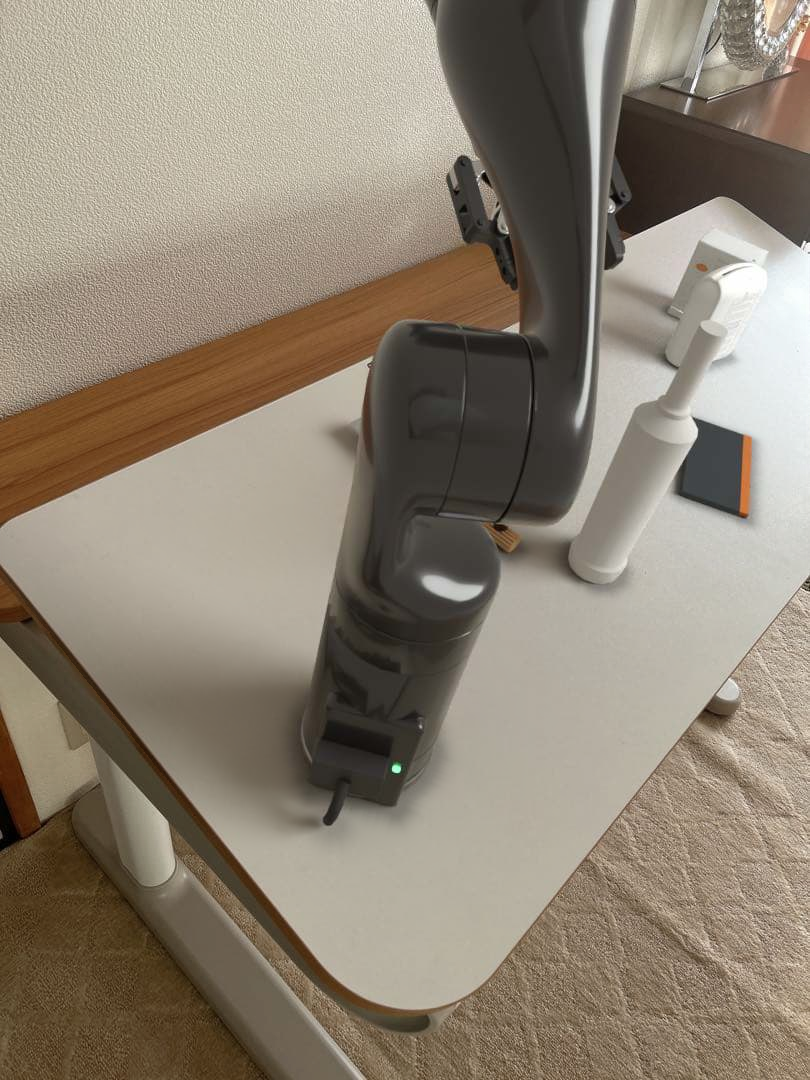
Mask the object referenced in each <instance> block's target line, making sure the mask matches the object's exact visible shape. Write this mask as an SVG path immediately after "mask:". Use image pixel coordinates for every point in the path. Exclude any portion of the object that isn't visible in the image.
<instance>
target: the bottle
mask: <svg viewBox="0 0 810 1080" xmlns="http://www.w3.org/2000/svg"><path fill="white" fill-rule="evenodd" d="M727 335H728V331H727V329H726V328H725V327H724V326H723V325H721V324H719V323H717V322H714V321H710V320H704V321H702V322H701V323H700V325H699V327H698V329H697V331H696V333H695V335H694V337H693V339H692V341H691V343H690V345H689V349H688V351H687V353H686V355H685V357H684V359H683V361H682V363H681V365H680V367H678V368H677V370H676V372H675V375H674V377H673V379H672V381H671V382H670V385H669V386H668V389H667V391H666V393H665V394H662V395H660V396H659V397H658V398H657V400H656V399H655V400H652V401H651V400H650V401H645V402H641V403H639V405H636V407H635V408H634V410H633V412H632V414H631V417H630V419H629V421H628V423H627V425H626V428H625V430H624V432H623V435H622V437H621V439H620V441H619V444H618V446H617V448H616V450H615V453H614V454H613V457H612V459H611V462H610V464H609V466H608V468H607V471H606V473H605V475H604V477H603V479H602V482H601V484H600V487H599V489H598V491H597V492H596V496H595V497H594V499H593V502H592V505H591V506H590V509H589V511H588V513H587V515H586V518H585V520H584V522H583V524H582V527H581V529H580V531H579V533H577V534H576V535H575V536H574V537H573V538H572V541H571V544H570V546H569V547H570V548H569V551H568V555H567V559H568V564H569V567H570V568H571V569H572V570H571V571H573V572H574V573H575V575H577V576H578V577H580V578H581V579H582V580H583V581H586V582H589V583H591V584H595V585H606V584H610V583H612V582H614V581H615V580H616V579H617V578H619V576H620V575H621V574H622V573H623V572H624V570H625V568H626V567H627V565H628V560H629V559H628V558H629V556H630V553H631V552H632V550H633V548H634V546H635V544H636V543H637V541H638V539H639V537H640V536H641V534H642V533H643V531H644V530H645V527H646V526H647V524H648V522H649V520H650V519H651V517H652V516H653V514H654V512H655V510H656V509H657V507H658V506H659V503H660V502H661V500H662V498H663V497H664V495H665V494H666V491H667V489H668V488H669V487H670V484H671V483H672V481H673V479H674V478H675V476H676V475H677V473H678V471H679V469H680V467H681V466H682V464H683V463H684V459H685V457H686V455H687V454H688V452H689V450H690V448H691V447H692V445H693V443H694V442H695V440H696V438H697V435H698V428H697V426H696V424H695V422H694V421H693V419H692V417H693V416H691V414H692V407H691V404H692V402H693V400H694V398H695V396H696V394H697V393H698V391H699V388H700V386H701V385H702V382H703V381H704V379H705V377H706V375H707V373H708V371H709V369H710V367H711V366H712V363H713V362H714V361H713V360H714V358H715V357H716V356H717V354H718V352H719V350H720V348H721V346H722V344H723V342H724V340H725V338H726V337H727ZM712 361H713V362H712Z"/></svg>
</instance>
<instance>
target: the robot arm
mask: <svg viewBox="0 0 810 1080" xmlns="http://www.w3.org/2000/svg"><path fill="white" fill-rule="evenodd" d="M423 1H424V3H425V5H426V7H427V10H428V12H429V15H430V19H431V20H432V23H433V26H434V29H435V40H436V48H437V54H438V58H439V64H440V67H441V70H442V74H443V77H444V80H445V83H446V86H447V89H448V92H449V94H450V97H451V99H452V102H453V104H454V107H455V109H456V112H457V114H458V116H459V118H460V121H461V123H462V125H463V127H464V130H465V132H466V134H467V136H468V138H469V140H470V144H471V146H472V149H473V152H474V154H475V156H476V157H477V158H478V160H472V159H471V158H470V157H469V156H468V155H465V154H461V155H459V156H458V157H457V158H456V160H455V161H454V163H453V165H452V166H451V168H450V169H449V171H448V173H447V174H446V176H445V181H446V184H447V188H448V191H449V195H450V199H451V202H452V206H453V209H454V212H455V213H454V214H455V217H456V219H457V222H458V227H459V231H460V233H461V237H462V240H463V241H464V243H465V244H467V245H472V246H473V245H474V244H476V243H479V244H484V245H486V246H487V247H489V248H490V249H491V251H492V255H493V257H494V260H495V263H496V265H497V269H498V271H499V274H500V276H501V280H502V281H503V282H504V284H505V285H506V286H508V285H509V287H510V289H511V290H512V291H513V292H516V291H517V293H518V310H519V313H518V314H519V316H518V317H519V319H518V320H519V322H518V323H519V325H518V327H519V328H518V332H511V331H503V330H497V329H491V328H484V327H476V326H470V325H464V324H456V323H450V322H442V321H436V320H435V321H434V320H427V319H417V318H405V319H404V318H403V319H401V320H398V321H396V322H394V323H393V324H392V325H391V326H390V327H389V328H387V330H386V331H385V332H384V334H383V335H382V337H381V338H380V340H379V342H378V344H377V346H376V349H375V351H374V353H373V355H372V359H371V363H370V366H369V369H368V373H367V377H366V382H365V388H364V394H363V400H362V407H361V412H360V413H361V414H360V418H361V421H360V429H359V435H358V439H357V447H356V453H355V454H356V455H355V462H354V469H353V475H352V482H351V486H350V487H351V488H350V492H349V493H350V494H349V497H348V503H347V507H346V508H347V509H346V513H345V518H344V525H343V529H342V533H341V538H340V544H339V548H338V552H337V557H336V560H335V568H334V573H333V577H332V582H331V587H330V591H329V595H328V599H327V605H326V611H325V614H324V619H323V623H322V629H321V633H320V638H319V643H318V647H317V652H316V658H315V661H314V666H313V672H312V676H311V682H310V686H309V691H308V696H307V701H306V708H305V709H304V711H303V714H302V719H301V724H300V729H299V741H300V748H301V751H302V754H303V756H304V759H305V761H306V764H307V765H308V766H309V769H310V770H309V775H308V778H307V782H308V783H309V784H310V785H312V786H316V787H320V788H324V789H327V790H330V791H334V793H333V796H332V798H331V801H330V804H329V806H328V809H327V810H326V813H325V814H324V815H323V817H322V823H323V824H324V825H325V826H327V827H330V826H333V824H334V823H335V822H336V820H337V819H338V818H339V815H340V813H341V811H342V809H343V806H344V804H345V801H346V798H347V796H350V797H354V798H357V799H363V800H367V801H371V802H373V803H374V802H375V803H379V804H382V805H386V806H389V807H396V806H397V804H398V802H399V800H400V797H401V794H402V793H403V792H404V791H406V790H408V789H409V788H410V787H412V786H413V785H414V784H415V783H416V782H418V781H419V780H420V779H421V777H422V776H423V774H424V773H425V771H426V769H427V767H428V765H429V763H430V761H431V757H432V755H433V750H434V747H435V744H436V741H437V739H438V736H439V734H440V732H441V729H442V726H443V724H444V721H445V718H446V716H447V714H448V711H449V709H450V706H451V704H452V702H453V700H454V697H455V694H456V692H457V689H458V687H459V685H460V682H461V680H462V677H463V675H464V673H465V670H466V668H467V665H468V663H469V660H470V658H471V655H472V653H473V650H474V648H475V646H476V643H477V641H478V639H479V636H480V634H481V631H482V629H483V626H484V624H485V622H486V619H487V617H488V614H489V612H490V610H491V607H492V605H493V602H494V601H495V597H496V595H497V594H498V593H497V592H498V590H499V586H500V584H501V583H500V582H501V578H502V577H501V576H502V561H501V556H500V551H499V549H498V546H497V543H495V542H494V540H493V538H492V536H491V535H490V533H489V532H488V531H487V529H486V528H485V527H484V526H483V525H482V524H481V523H480V522H487V523H495V524H505V525H506V526H516V527H528V528H529V527H530V528H547V527H550V526H554V525H555V524H557V523H559V522H561V520H562V519H564V518H565V517H566V515H567V514H568V513H570V511H571V509H572V507H573V506H574V504H575V501H576V500H577V497H578V496H579V493H580V491H581V489H582V487H583V483H584V479H585V477H586V472H587V468H588V464H589V461H590V455H591V450H592V444H593V439H594V430H595V422H596V412H597V399H598V385H599V384H598V383H599V372H600V371H599V370H600V353H601V334H602V315H603V314H602V313H603V299H604V298H603V295H604V277H605V275H604V274H605V271H609V270H614V269H615V268H616V267H617V266H619V265H620V264H621V263H622V262H623V261H624V259H625V258H624V257H625V256H624V255H625V254H626V245H625V243H624V240H623V237H622V235H621V231H620V227H619V225H618V223H617V220H616V214H617V213H618V212H619V211H620V210H621V209H622V208H623V207H624V206H625V205H626V204H627V203H628V202H630V201H631V200H632V192H631V189H630V187H629V185H628V183H627V182H628V181H627V180H626V178H625V175H624V172H623V170H622V167H621V164H620V163H619V161H618V158H617V155H616V154H615V149H616V143H617V137H618V136H617V135H618V130H619V123H620V117H621V110H622V109H621V108H622V102H623V95H624V90H625V89H624V88H625V82H626V76H627V69H628V63H629V59H630V58H629V56H630V51H631V45H632V40H633V39H632V38H633V35H634V34H633V32H634V27H635V22H636V13H637V12H636V11H637V5H638V0H423ZM482 182H483V183H484V184H486V185H487V186H488V187H489V188H490V189H491V190H493V193H494V195H495V197H496V200H495V202H494V206H493V209H492V212H491V215H490V218H488V214H487V211H486V207H485V204H484V200H483V197H482V194H481V190H480V186H481V183H482Z"/></svg>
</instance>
